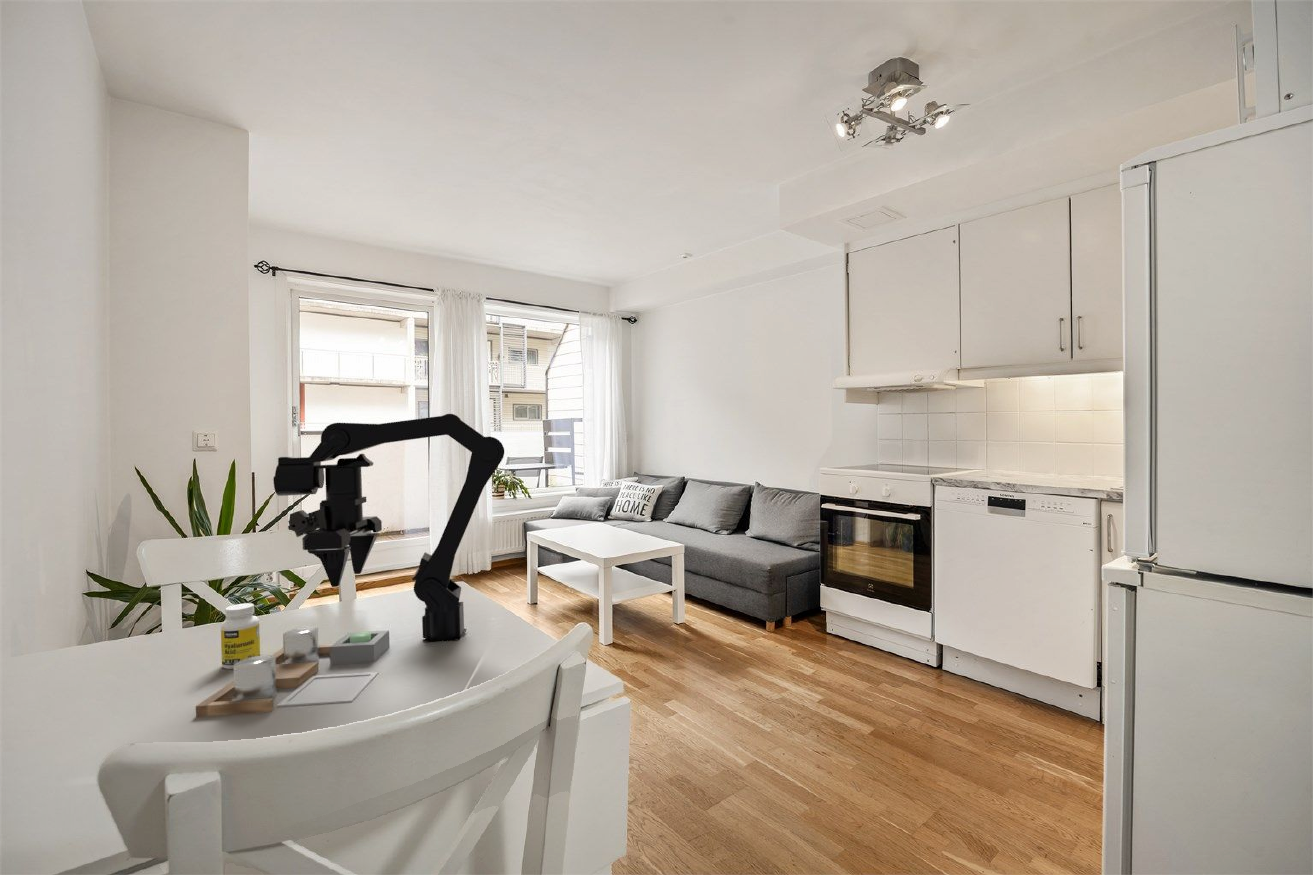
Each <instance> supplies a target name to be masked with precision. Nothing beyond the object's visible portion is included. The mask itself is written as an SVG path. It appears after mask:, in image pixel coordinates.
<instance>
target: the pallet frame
mask: <svg viewBox="0 0 1313 875" xmlns="http://www.w3.org/2000/svg"><path fill="white" fill-rule="evenodd" d="M332 645H333V644H324V645H323V644H320V645H319V657H321V656H324V657H325V656H330V646H332ZM271 656H275V662H276V689H290V688H298V687H300V686H301V685H302V684H303V683H304V682H306V681H307V680H308V679H309V678H310V677H312V676H315V675H316V674H317V673H318V672H319V662H311V663H293V664H284V648H283V647H282V648H280V649H278V650H277V651H275V652H274V653H273V654H271ZM232 699H235V694H234V680H233V681H231V682H230V683H228V684H226V685H225V686H223V687H222V688H221V689H219V690H218V691H216V692H215V693H213V694H211V695H210V696H208V697H207V698H205V699H204V700H202V701H201V702H200V703H198V704H197V705H196V706H195V717H196V718H197V717H212V716H214V717H215V716H229V715H231V716H232V715H246V714H260V713H261V714H262V713H270V712H272V711H273V710H274V707H275V706H274V699H273V698H270V699H254V700H238V701H235V700H232Z"/></svg>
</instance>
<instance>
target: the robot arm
mask: <svg viewBox="0 0 1313 875" xmlns="http://www.w3.org/2000/svg"><path fill="white" fill-rule="evenodd" d="M439 436H449V437H450V438H451V439H453V440H454V441H455V442H457V443H458V444H459V445H461V446H462V447H464V448H465V449H466V450H467V451H469V452H471V456H470V460H469V464H468V468H467V472H466V478H465V481H464V484H463V486H462V488H461V491H460V493H459V494H458V498H457V499H456V502H455V505H454V507H453V509H452V511H451V514H450V516H449V518H448V521H447V523H446V526H444V530H443V532H442V534H441V537H440V539H439V541H438V544H437V546H436V548H435V549H434V551H433V552H432V554H429V553H427V552H424V553H423V555H422V557H421V558H420V561H419V566H418V568H417V570H416V571H415V573H414V575H413V577H412V578H411V580H412V581H414V585H413V592H414V594H415V596H416V597H417V599H418V600H420V601H421V602H423V603H424V605H425V606H426V607H424V614H423V615H422V616H421V622H422V628H421V629H422V638H423V641H422V643H424V644H425V643H438V642H439V643H441V642H457V641H460V640H461V638H464V636H465V635H466V633H467V632H466V631H467V628H465V620H464V618H465V615H464V614H465V613H464V612H465V611H464V601H460V599H461V594H462V593H461V592H462V586H460V585H459V584H458V583H456V582H455V581H454V580H453V579H452V578H451V575H452V570H453V566H454V562H455V558H456V554H457V551H458V549H459V546H460V545H461V542H462V540H463V537H464V534H465V533H466V530H467V528H468V525H469V523H470V521H471V518H472V516H473V514H474V511H475V509H476V506H477V504H478V502H479V500H480V498H481V496H482V495H481V494H482V492H483V490H484V487H486V484H487V483H488V482H489V480H490V479H491V478H492V476H493V474H494V473H495V472H496V470H497V469H498V467H499V465H500V464H501V462H502V461H503V459H504V457H505V456H504V455H505V447H504V445H503V442H501V441H500V440H499V439H497V438H496V437H494V436H484V435H483V434H481V433H480V432H479V431H477V430H475V429H474V428H472V427H471V426H470V425H468V424H467V423H466V422H465V421H463V420H461V418H460V417H459V416H458V415H456V414H453V413H446V414H443V415H439V416H438V415H437V416H431V417H423V418H416V419H408V420H406V419H405V420H400V421H399V420H398V421H392V422H384V423H383V422H382V423H359V422H357V423H355V422H334V423H331V424H329V425H327V426H326V427H325V428H324V429H323V430H322V432H321V435H320V443H319V444H318V445H317V446H316V448H315V449H314V450H313V451H312V452H311V454H310V455H309V456H308V457H302V456H301V457H293V456H279V457H278V458H277V462H278V463H277V466H276V468H275V471H274V472H275V473H274V476H273V487H274V488H273V489H274V492H275V494H276V495H277V496H279V497H283V496H307V495H316V494H317V492H318V491H319V489H323V487H324V484H325V499H323V500H320V502H319V509H317V510H314V511H310V512H309V513H307V512H306V511H305V510H303V509H302V510H298V511H295V512H292V513H289V519H288V521H287V522H288V526H287V530H289V531H292V532H294V534H295V536H296V538H299V537H302V536H303V535H304V536H303V537H302V539H301V540H302V550H303V551H307V552H308V554H310V555H314V556H315V557H317V558H318V559H319V560H320V562H321V564H322V566H323V569H324V571H325V573H326V576H327V578H328V581H329V584H330V587H332V588H338V587H339V586H340V584H341V582H342V578H343V575H344V571H345V567H346V565H347V561H348V558H349V555H350V560H351V565H352V569H353V574H355V575H360V574H361V573H362V571H363V570H364V567H365V565H366V562H367V560H368V558H369V555H370V553H371V551H372V549H373V547H374V545H375V542H376V541H377V539H378V537H379V535H380V534H379V532H381V531H383V529H382V527H383V526H382V523H383V522H382V520H381V519H380V518H379V517H378V516H377V515H373V516H363V504H364V503H367V496H363V488H362V487H363V485H362V468H368V467H372V466H374V462H373V461H372V460H370V459H369V458H368V457H367V456H366V455H365V454H364V453H359V454H358V455H357V457H345V458H341V457H340V458H339V459H338V460H337V462H336V464H322V462H328V461H333V460H335V459H337V458H338V457H339V456H345V455H351V454H354V453H358V452H361V451H364V450H367V449H371V448H374V447H377V446H380V445H383V444H388V443H395V442H404V441H410V440H411V441H412V440H417V439H425V438H432V437H439ZM465 632H466V633H465ZM463 635H464V636H463Z"/></svg>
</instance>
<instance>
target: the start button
mask: <svg viewBox="0 0 1313 875" xmlns="http://www.w3.org/2000/svg"><path fill="white" fill-rule="evenodd" d="M359 632H360V633H356V634H353V635H351V636H350V643H362V642H369V641H371V633H370V632H368V631H359Z"/></svg>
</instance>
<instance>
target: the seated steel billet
mask: <svg viewBox="0 0 1313 875" xmlns="http://www.w3.org/2000/svg"><path fill="white" fill-rule="evenodd" d="M271 655H272V654H271ZM271 655H270V654H266V655H265V654H263V655H262V654H261V655H260V656H255V657H251V658H247V659H244V660H241V661H239V662H237V663H236V664H234V669H233V681H234V694H235V697H234V701H238V700H254V699H270V698H273V700H274V699H275V698H276V697H277V688H276V662H275V656H271Z"/></svg>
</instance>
